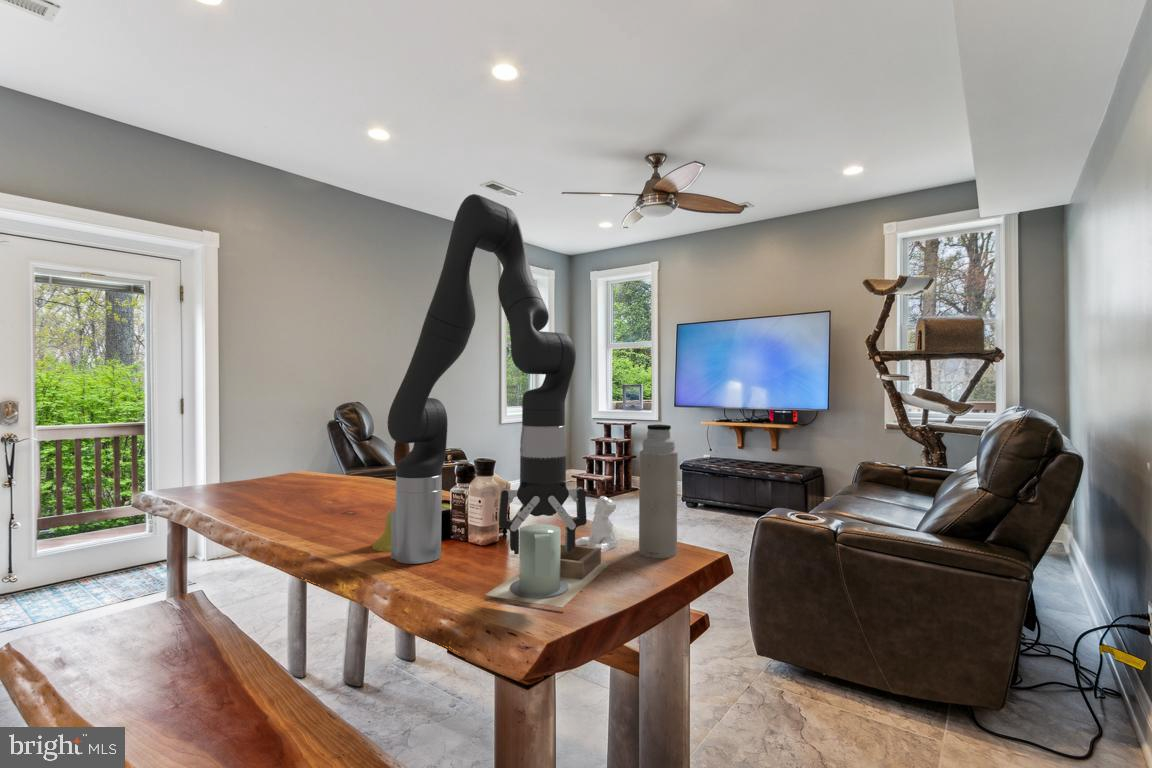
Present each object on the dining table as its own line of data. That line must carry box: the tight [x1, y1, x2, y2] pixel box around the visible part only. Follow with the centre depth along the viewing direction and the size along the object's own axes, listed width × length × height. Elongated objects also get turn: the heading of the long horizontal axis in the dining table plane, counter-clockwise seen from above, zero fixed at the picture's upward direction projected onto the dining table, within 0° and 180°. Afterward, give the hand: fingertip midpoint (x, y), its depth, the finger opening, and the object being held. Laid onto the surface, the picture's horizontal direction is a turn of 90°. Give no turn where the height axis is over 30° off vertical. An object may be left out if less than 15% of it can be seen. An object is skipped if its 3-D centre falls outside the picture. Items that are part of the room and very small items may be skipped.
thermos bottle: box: [638, 423, 679, 559], centre depth 120 cm, size 8×8×28 cm
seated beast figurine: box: [575, 495, 620, 554], centre depth 124 cm, size 10×9×12 cm
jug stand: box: [483, 543, 610, 615], centre depth 103 cm, size 14×24×4 cm, turn 159°
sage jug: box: [518, 523, 562, 595], centre depth 95 cm, size 10×7×10 cm
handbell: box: [372, 441, 411, 553], centre depth 128 cm, size 12×12×25 cm
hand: (542, 552), depth 93 cm, fingers open, 8 cm apart
